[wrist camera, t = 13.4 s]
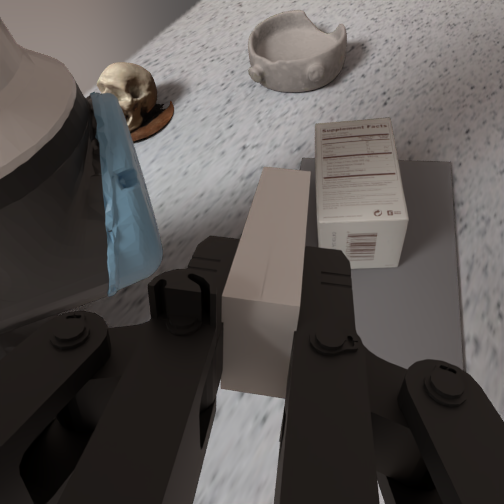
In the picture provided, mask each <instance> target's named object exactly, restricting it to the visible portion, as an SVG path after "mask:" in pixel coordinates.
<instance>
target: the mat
mask: <svg viewBox="0 0 504 504" xmlns="http://www.w3.org/2000/svg"><path fill="white" fill-rule="evenodd" d="M398 163H399V168H400V174H401V180H402V186H403V191H404V196H405V201H406V206H407V212H408V217H409V221H408V225H407V230H406V234H405V239H404V243H403V247H402V251H401V256H400V260H399V264H398V267H391V268H359V269H351V278H352V290H353V302H354V314H355V327H356V332H357V334H358V335H359V336H360V338H361V340H362V343H363V345H364V346H365V347H366V348H367V349H368V350H369V351H371V352H372V353H373V354H375V355H376V356H378V357H380V358H382V359H384V360H386V361H388V362H390V363H393V364H395V365H398V366H400V367H403V368H405V369H408V368H409V367H410V366H411V365H412V364H414V363H415V362H416V361H421V360H425V359H433V360H442V361H445V362H447V363H450V364H452V365H455V366H457V367H459V368H460V369H462V370H463V356H462V339H461V323H460V306H459V290H458V274H457V257H456V241H455V224H454V208H453V192H452V175H451V162H439V161H402V160H398ZM300 170H301V171H310V172H311V175H310V187H309V200H308V213H307V225H306V238H305V246H311V247H318V231H317V209H316V178H315V158H302V162H301V167H300Z"/></svg>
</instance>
